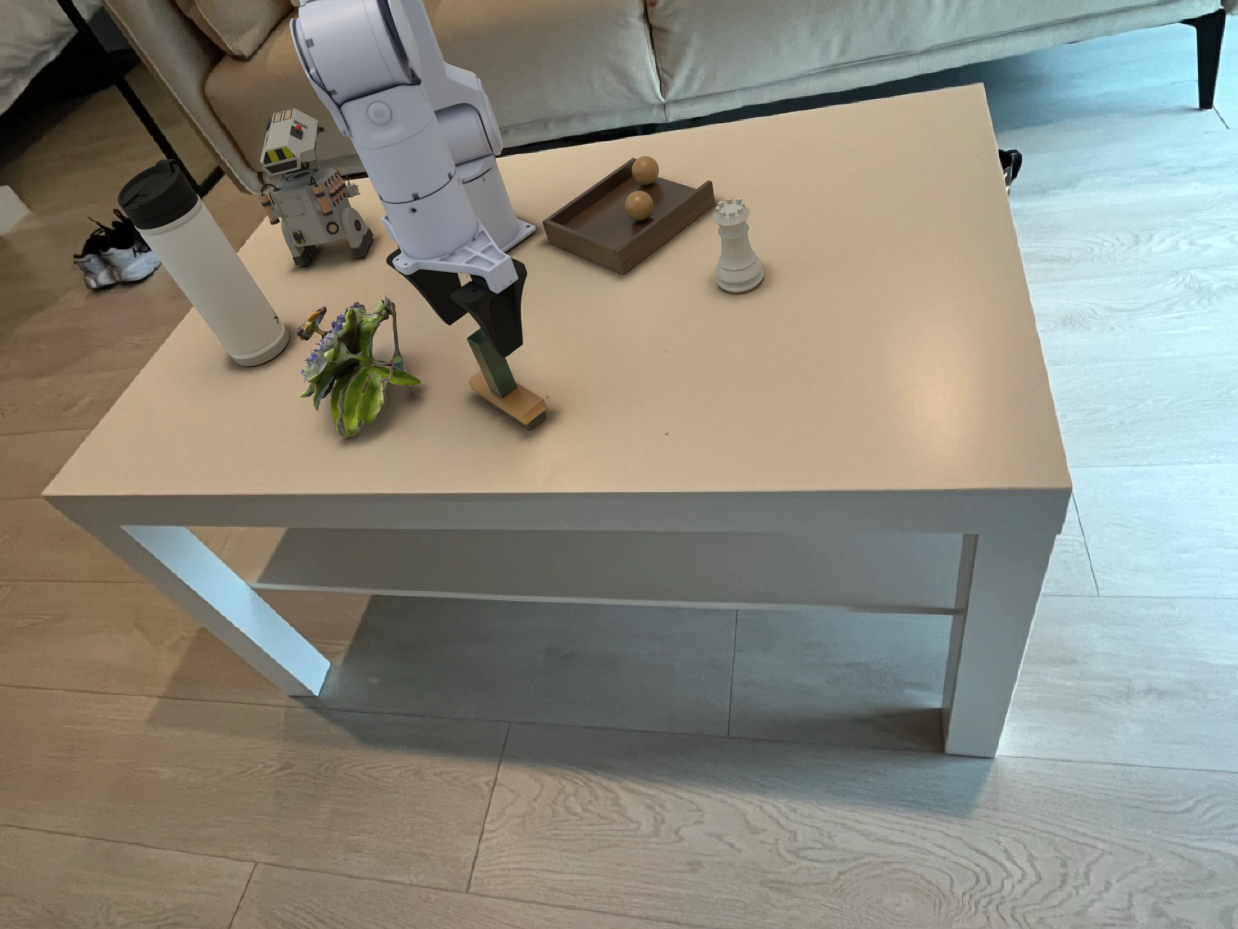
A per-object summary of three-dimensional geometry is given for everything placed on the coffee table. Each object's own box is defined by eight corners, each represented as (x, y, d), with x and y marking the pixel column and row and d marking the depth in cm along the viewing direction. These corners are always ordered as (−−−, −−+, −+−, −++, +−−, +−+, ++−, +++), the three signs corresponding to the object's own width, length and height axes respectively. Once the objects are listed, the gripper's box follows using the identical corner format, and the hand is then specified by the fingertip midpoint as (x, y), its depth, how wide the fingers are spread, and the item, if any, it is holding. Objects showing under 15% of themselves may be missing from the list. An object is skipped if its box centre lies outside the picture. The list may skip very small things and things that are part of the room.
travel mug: (303, 328, 88) (193, 156, 74) (268, 369, 85) (145, 196, 70) (259, 325, 91) (145, 158, 76) (223, 365, 87) (95, 198, 72)
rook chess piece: (762, 293, 75) (753, 217, 69) (713, 296, 76) (701, 221, 70) (766, 264, 78) (758, 188, 72) (719, 267, 79) (708, 193, 73)
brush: (475, 397, 74) (442, 327, 68) (495, 382, 75) (464, 311, 69) (529, 433, 69) (498, 361, 63) (550, 416, 70) (521, 343, 64)
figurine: (388, 212, 102) (332, 94, 91) (360, 266, 94) (295, 145, 84) (324, 222, 104) (261, 108, 93) (291, 276, 97) (219, 158, 86)
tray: (548, 242, 89) (541, 221, 87) (637, 179, 94) (632, 157, 92) (623, 274, 82) (617, 252, 80) (715, 204, 87) (712, 180, 85)
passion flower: (374, 425, 83) (343, 307, 81) (461, 410, 79) (431, 285, 76) (291, 450, 73) (254, 317, 71) (385, 435, 69) (348, 292, 66)
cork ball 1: (629, 186, 91) (623, 161, 89) (647, 173, 92) (642, 148, 90) (648, 192, 89) (642, 167, 87) (666, 179, 90) (661, 153, 88)
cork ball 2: (622, 222, 86) (615, 196, 84) (641, 207, 87) (636, 182, 85) (642, 229, 84) (636, 203, 82) (661, 214, 85) (656, 188, 83)
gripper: (320, 186, 59) (397, 331, 69) (428, 238, 51) (499, 395, 60) (397, 139, 62) (461, 286, 72) (513, 182, 53) (567, 342, 63)
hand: (483, 333), depth 66 cm, fingers open, 7 cm apart
